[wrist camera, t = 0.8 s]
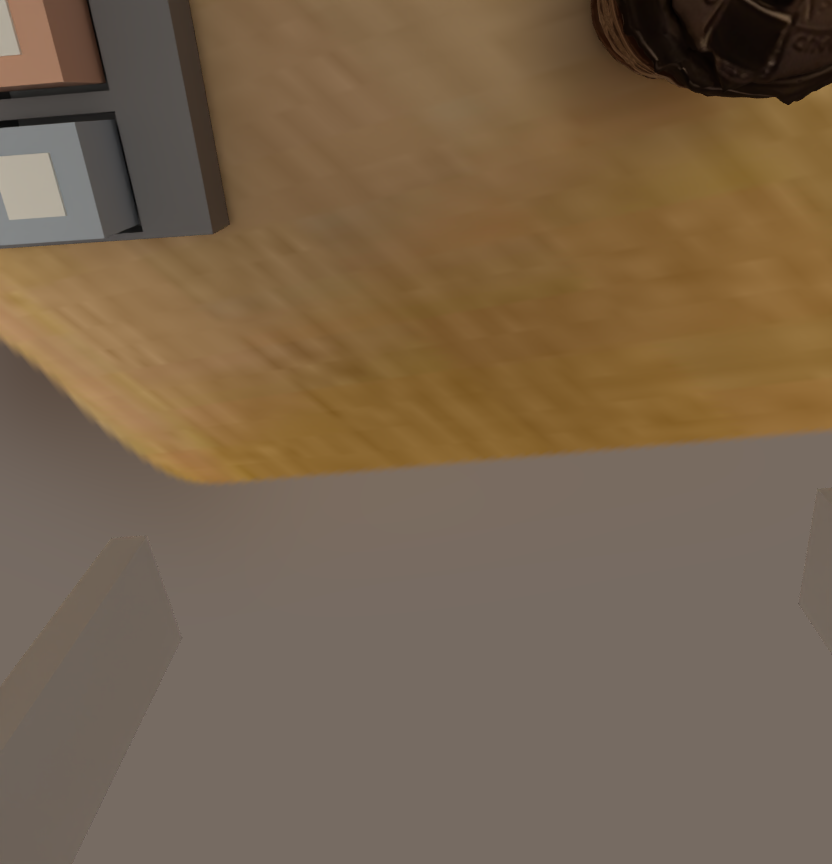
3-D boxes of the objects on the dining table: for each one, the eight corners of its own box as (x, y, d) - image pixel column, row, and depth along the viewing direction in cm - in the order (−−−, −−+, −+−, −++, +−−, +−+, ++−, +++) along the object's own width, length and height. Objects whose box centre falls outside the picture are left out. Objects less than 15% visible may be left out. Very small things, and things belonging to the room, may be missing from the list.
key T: (-43, -29, 28) (-111, -46, 25) (76, -41, 28) (24, -60, 24) (-7, 92, 30) (-65, 92, 26) (106, 83, 29) (62, 81, 26)
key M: (4, 128, 30) (-52, 132, 27) (114, 119, 30) (72, 122, 27) (35, 231, 32) (-13, 246, 29) (139, 223, 32) (102, 238, 29)
